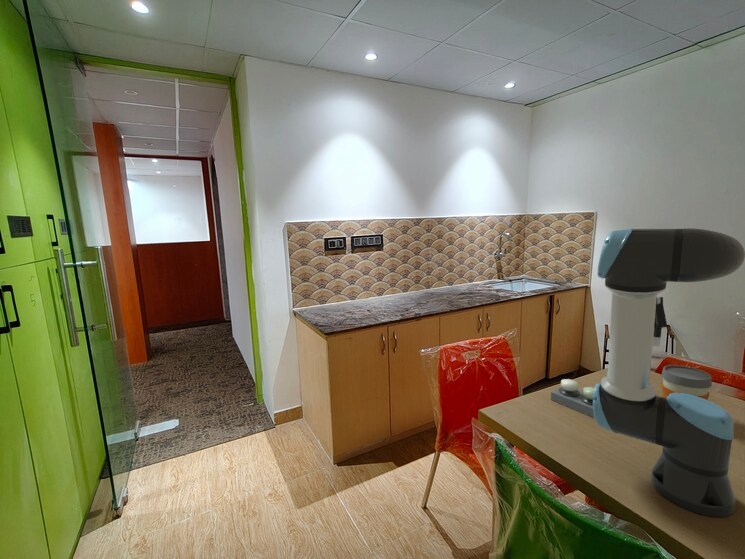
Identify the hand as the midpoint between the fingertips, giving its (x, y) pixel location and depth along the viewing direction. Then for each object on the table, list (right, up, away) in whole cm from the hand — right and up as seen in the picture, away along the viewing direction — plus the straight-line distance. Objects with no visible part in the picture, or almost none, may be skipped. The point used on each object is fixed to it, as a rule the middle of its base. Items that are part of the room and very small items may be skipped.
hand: (643, 339), depth 122 cm
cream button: (-21, -19, +8) cm, 30 cm away
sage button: (-17, -20, +1) cm, 27 cm away
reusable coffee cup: (+11, -25, -3) cm, 27 cm away
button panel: (-17, -25, +2) cm, 30 cm away
